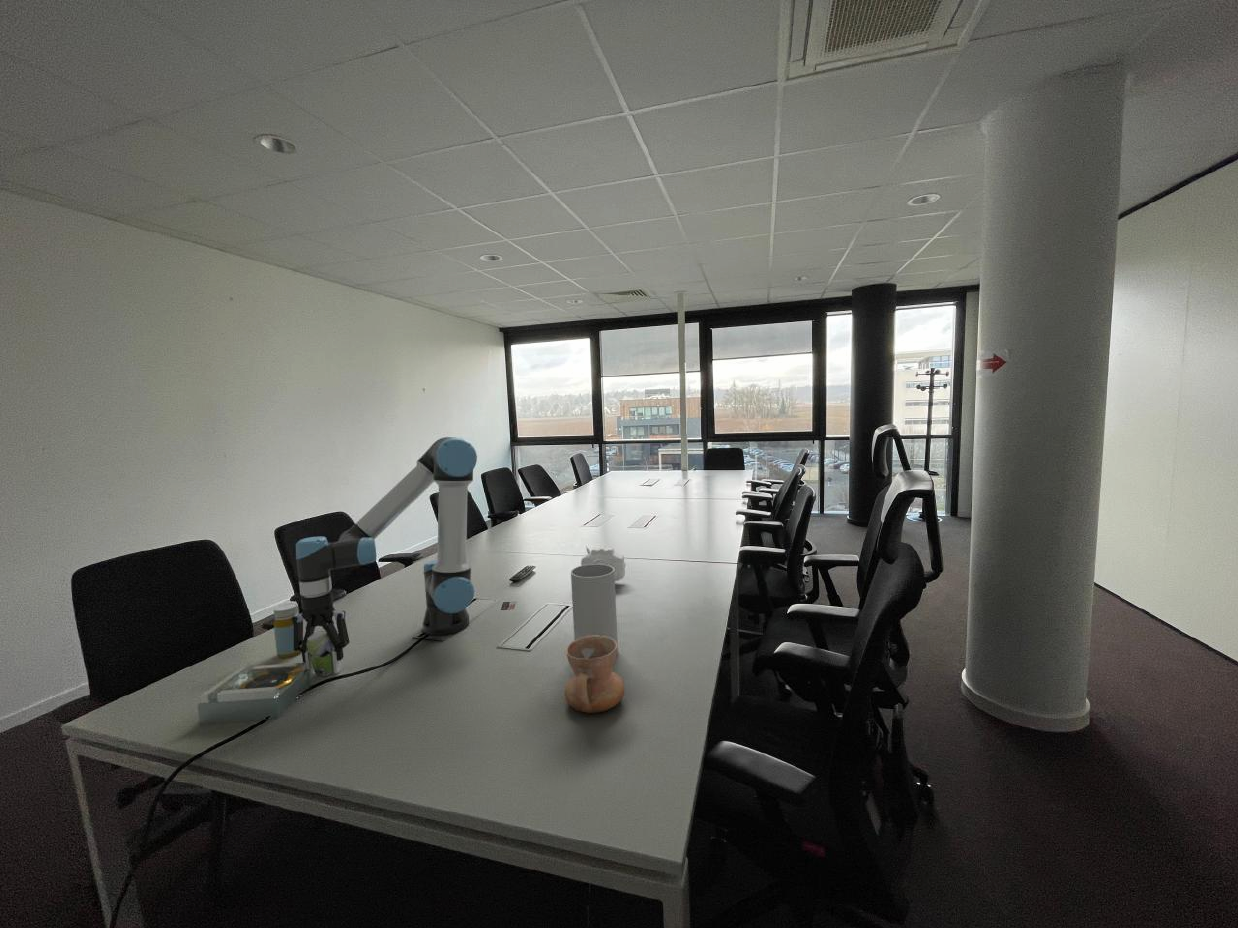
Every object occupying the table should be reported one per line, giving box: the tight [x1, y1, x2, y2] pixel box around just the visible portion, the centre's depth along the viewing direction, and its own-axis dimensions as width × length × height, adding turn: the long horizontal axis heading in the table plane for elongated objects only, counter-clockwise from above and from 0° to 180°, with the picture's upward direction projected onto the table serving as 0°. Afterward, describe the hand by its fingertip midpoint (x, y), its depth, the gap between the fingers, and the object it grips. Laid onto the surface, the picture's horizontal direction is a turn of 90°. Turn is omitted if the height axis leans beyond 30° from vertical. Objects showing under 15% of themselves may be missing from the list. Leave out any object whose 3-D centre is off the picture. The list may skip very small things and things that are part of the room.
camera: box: [580, 545, 626, 582], centre depth 203 cm, size 11×18×16 cm, turn 80°
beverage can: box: [306, 630, 334, 677], centre depth 139 cm, size 6×7×12 cm
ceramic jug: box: [564, 635, 626, 714], centre depth 118 cm, size 18×14×14 cm
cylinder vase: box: [570, 564, 619, 659], centre depth 143 cm, size 12×12×25 cm
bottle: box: [273, 602, 302, 659], centre depth 153 cm, size 7×7×15 cm
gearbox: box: [197, 662, 312, 725], centre depth 125 cm, size 18×14×7 cm
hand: (324, 671), depth 139 cm, fingers closed on beverage can, 7 cm apart
